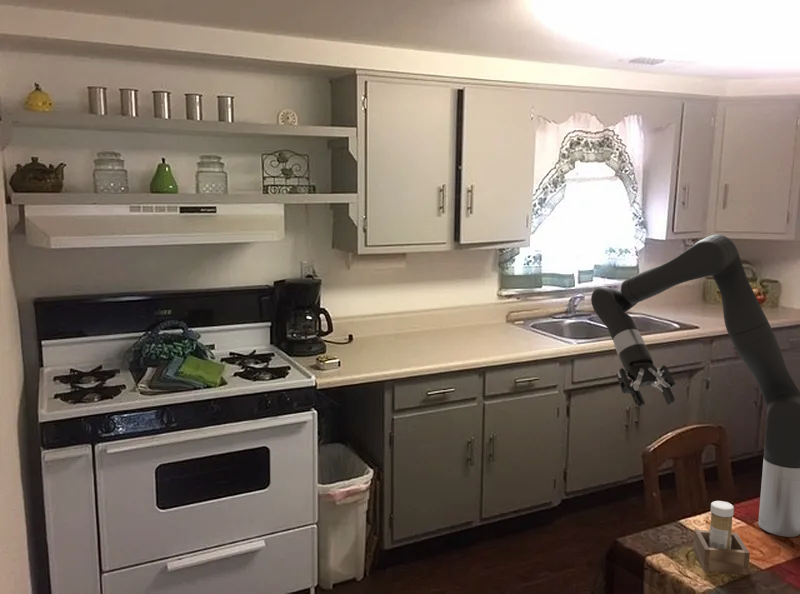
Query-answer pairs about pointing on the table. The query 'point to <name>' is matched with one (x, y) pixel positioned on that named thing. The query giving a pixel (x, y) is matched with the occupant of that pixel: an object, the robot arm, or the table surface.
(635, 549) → the table surface
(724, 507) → the sprinkles bottle
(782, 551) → the table surface
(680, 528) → the table surface
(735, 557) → the open square sleeve
